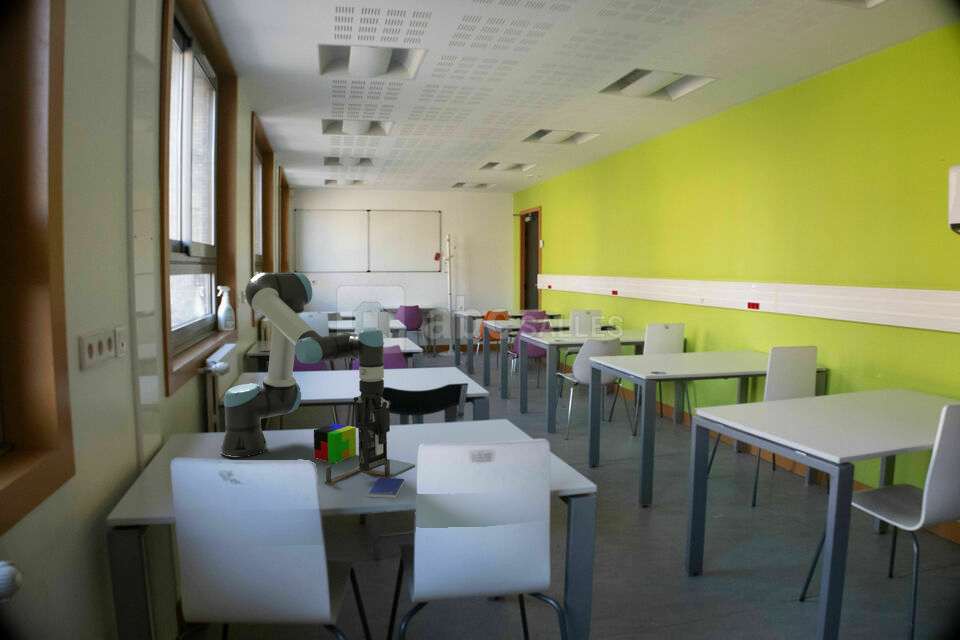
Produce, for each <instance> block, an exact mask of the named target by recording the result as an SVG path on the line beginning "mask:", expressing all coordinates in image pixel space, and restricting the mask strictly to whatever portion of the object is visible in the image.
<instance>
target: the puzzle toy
mask: <svg viewBox="0 0 960 640" xmlns="http://www.w3.org/2000/svg"><path fill="white" fill-rule="evenodd" d="M313 454H314V456H313V458H314V459H316V458H318V459H317V460H320V459H321V460H320V461H324V460H325V461H324V462H328V461H329V463H332V462H333V463H334V464H337V463H340V462H342V461H345V460H347V459H349V457H350V458H352V457H354V455H355V456H357V428H356V427H355V426H351V425H345V424H340V423H332V424H328V425H325V426H322V427H319V428H316V429H313ZM351 456H352V457H351ZM346 458H347V459H346ZM344 459H345V460H344ZM339 461H340V462H339ZM336 462H337V463H336Z"/></svg>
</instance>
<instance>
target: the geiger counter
mask: <svg viewBox="0 0 960 640" xmlns="http://www.w3.org/2000/svg"><path fill="white" fill-rule="evenodd" d="M362 423H363V424H362ZM357 430H358V464H359V465H358V466H359V467H358V468H359V469H361V470H364V471H368V470H371V469H373V468H376V467H379V466H382V465H385V460H386V459H388V442H387V441H388V435H387V434H388V432H386V433H385V434H384V439H385V442H384V444H383V453H382V454H379V455H376V451H375V434H376V433H377V429H376V424H375V420H374V421H371V422H370V421H369V423H367V424H365V422H362V421H360V425H358V428H357Z"/></svg>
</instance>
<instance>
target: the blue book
mask: <svg viewBox="0 0 960 640" xmlns="http://www.w3.org/2000/svg"><path fill="white" fill-rule="evenodd" d="M404 483H405V478H393V477H389V478H384V477H378V478H377V480H376V481H375V482H374V484H373V485H372V487H371V488H370V490H369V491H368V492H367V498H368V497H369V498H373V497H374V498H394V497H397V496H398V494H399V492H400V490H401V488H402V486H403V485H404Z"/></svg>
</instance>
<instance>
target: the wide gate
mask: <svg viewBox="0 0 960 640" xmlns="http://www.w3.org/2000/svg"><path fill="white" fill-rule="evenodd" d="M361 471H362V472H363V470H361V469H359V467H357V468H355V469H354V468H353V470H350V471H347V472H345V473H343V474H340V475H338V476H336V477H333V478H332V465H326V466H325V481H324V485H326V484H327V485H326V486H331V485H333V484H336V483H337V482H341V481H342V479H343V480H345V479H348V478H349V476H350V477H352V476H354V475H356V473H357V474H359V473H361ZM358 472H359V473H358ZM351 475H352V476H351ZM330 484H331V485H330Z"/></svg>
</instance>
